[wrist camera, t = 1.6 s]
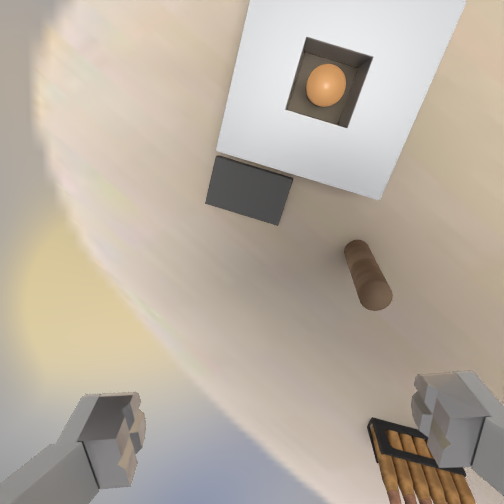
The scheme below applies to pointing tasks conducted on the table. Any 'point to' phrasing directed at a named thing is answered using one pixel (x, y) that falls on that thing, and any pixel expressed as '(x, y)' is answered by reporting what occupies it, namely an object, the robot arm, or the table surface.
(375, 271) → the brown rounded rod
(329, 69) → the plunger
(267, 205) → the rubber pad
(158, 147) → the table surface
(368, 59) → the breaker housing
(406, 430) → the ammunition clip
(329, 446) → the table surface
